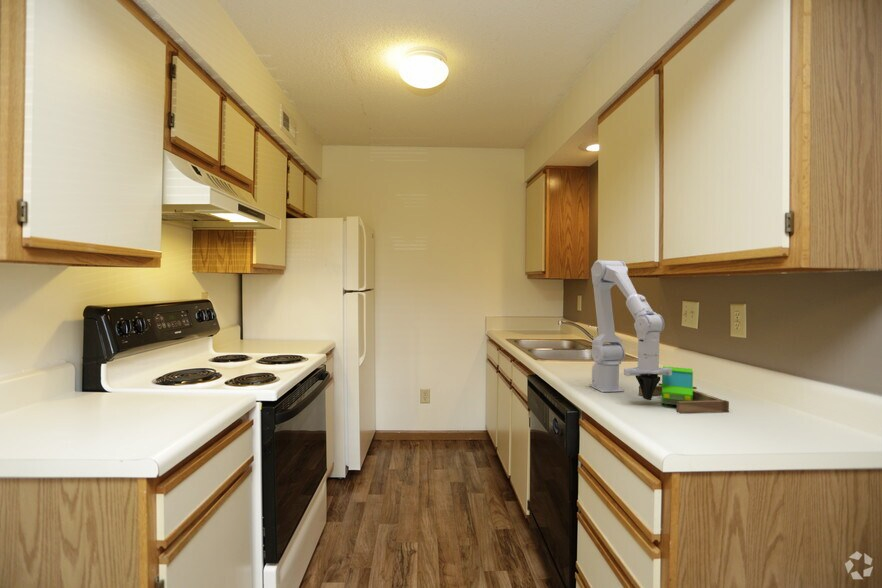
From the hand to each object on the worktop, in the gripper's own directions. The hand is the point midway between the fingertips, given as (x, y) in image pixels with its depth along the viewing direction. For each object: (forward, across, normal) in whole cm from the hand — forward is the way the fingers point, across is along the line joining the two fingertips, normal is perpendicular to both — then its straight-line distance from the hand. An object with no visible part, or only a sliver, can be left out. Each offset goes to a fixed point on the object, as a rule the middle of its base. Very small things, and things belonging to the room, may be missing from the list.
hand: (647, 399), depth 131 cm
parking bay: (+1, +11, 0) cm, 11 cm away
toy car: (+2, +9, -1) cm, 9 cm away
